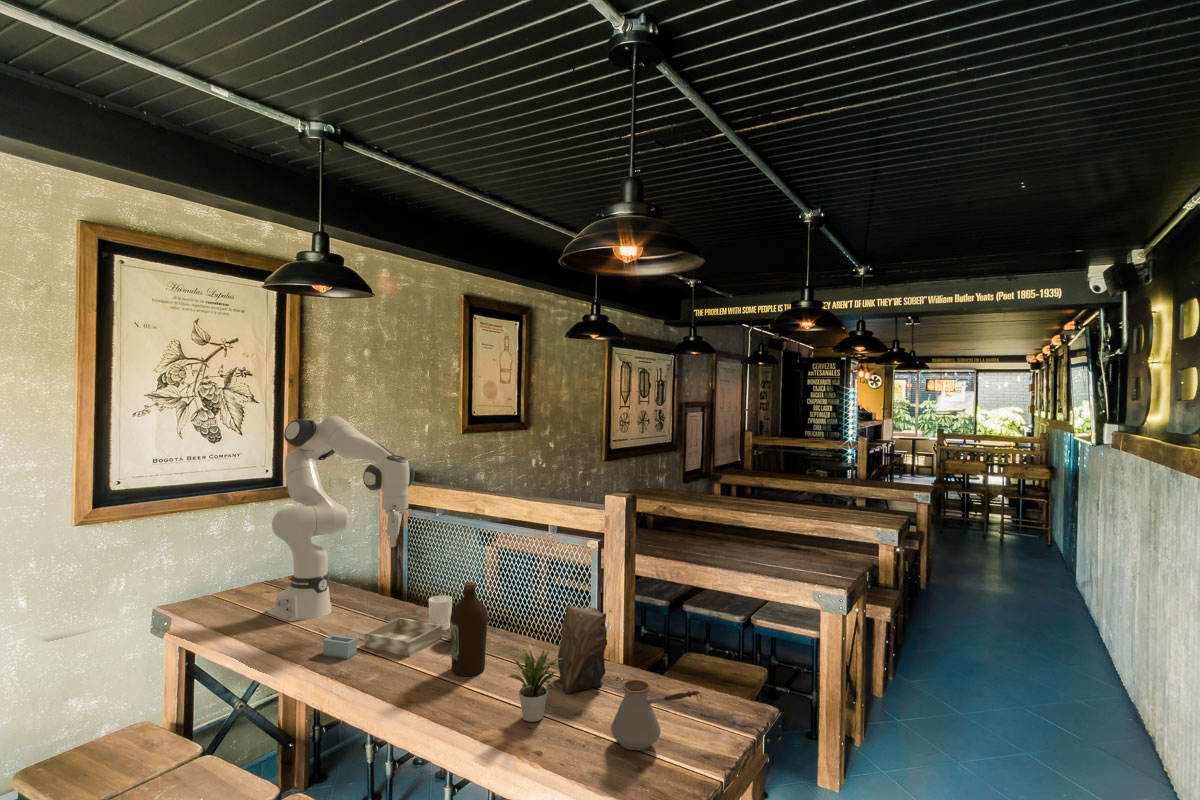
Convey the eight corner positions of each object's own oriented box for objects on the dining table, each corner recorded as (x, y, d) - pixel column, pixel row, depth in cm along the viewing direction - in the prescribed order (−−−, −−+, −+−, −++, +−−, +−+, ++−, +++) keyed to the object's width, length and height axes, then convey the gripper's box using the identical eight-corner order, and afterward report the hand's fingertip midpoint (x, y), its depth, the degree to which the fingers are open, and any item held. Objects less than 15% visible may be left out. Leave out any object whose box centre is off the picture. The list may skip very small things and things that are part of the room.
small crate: (323, 656, 188) (323, 639, 188) (332, 651, 192) (332, 635, 192) (347, 660, 186) (348, 643, 186) (356, 655, 190) (357, 638, 190)
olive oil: (481, 659, 188) (483, 576, 188) (491, 673, 178) (492, 586, 178) (446, 665, 183) (447, 580, 183) (453, 680, 174) (455, 590, 174)
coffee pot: (601, 746, 141) (602, 680, 141) (624, 723, 151) (625, 662, 151) (690, 774, 131) (691, 703, 131) (708, 748, 141) (709, 681, 141)
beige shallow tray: (364, 647, 195) (364, 633, 195) (398, 630, 210) (399, 617, 210) (409, 657, 189) (409, 642, 189) (442, 639, 203) (442, 625, 204)
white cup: (437, 633, 208) (438, 604, 208) (423, 628, 213) (423, 599, 213) (456, 627, 214) (457, 598, 214) (441, 622, 219) (442, 593, 219)
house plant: (553, 737, 145) (554, 667, 145) (497, 731, 147) (498, 661, 147) (567, 707, 159) (568, 643, 159) (515, 702, 161) (516, 639, 161)
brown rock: (556, 673, 179) (557, 604, 179) (598, 669, 182) (599, 601, 182) (564, 693, 166) (565, 619, 167) (610, 689, 170) (611, 615, 170)
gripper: (403, 509, 205) (402, 550, 206) (405, 497, 225) (404, 535, 225) (383, 509, 204) (381, 551, 204) (387, 497, 223) (386, 535, 224)
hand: (393, 542), depth 215 cm, fingers open, 8 cm apart
